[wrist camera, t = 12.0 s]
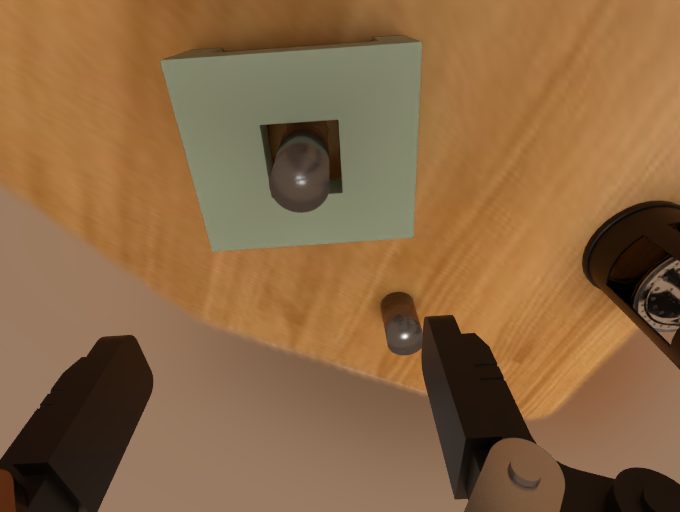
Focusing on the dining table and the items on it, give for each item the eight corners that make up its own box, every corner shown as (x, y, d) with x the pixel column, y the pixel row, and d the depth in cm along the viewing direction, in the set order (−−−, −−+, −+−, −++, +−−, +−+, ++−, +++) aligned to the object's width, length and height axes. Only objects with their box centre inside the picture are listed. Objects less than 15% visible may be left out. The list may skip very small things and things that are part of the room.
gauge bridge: (403, 34, 26) (422, 41, 21) (399, 201, 32) (413, 237, 27) (191, 49, 26) (159, 60, 21) (229, 213, 32) (212, 251, 27)
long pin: (326, 109, 28) (327, 153, 20) (329, 153, 30) (331, 210, 22) (282, 112, 28) (264, 158, 20) (288, 156, 30) (273, 214, 22)
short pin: (414, 290, 38) (425, 327, 33) (412, 316, 39) (423, 354, 35) (380, 293, 38) (387, 329, 33) (380, 318, 39) (387, 356, 35)
